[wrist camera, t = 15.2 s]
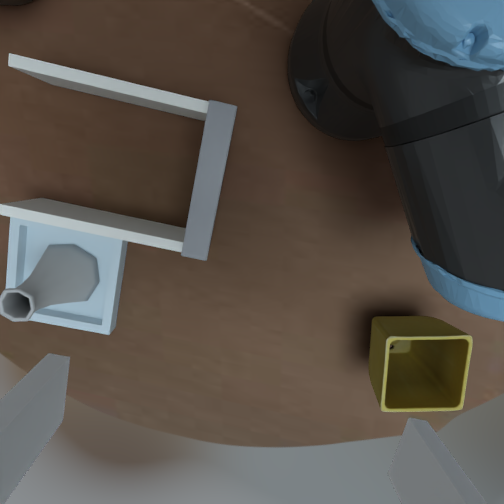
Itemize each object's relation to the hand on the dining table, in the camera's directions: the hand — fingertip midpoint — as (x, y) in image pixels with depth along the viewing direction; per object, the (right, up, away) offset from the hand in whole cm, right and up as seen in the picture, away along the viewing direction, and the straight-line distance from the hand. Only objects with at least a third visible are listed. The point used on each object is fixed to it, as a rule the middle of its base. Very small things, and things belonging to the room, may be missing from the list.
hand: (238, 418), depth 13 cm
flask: (-21, +4, +28) cm, 35 cm away
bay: (-13, +16, +25) cm, 33 cm away
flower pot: (+18, -4, +31) cm, 36 cm away
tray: (-21, +4, +28) cm, 35 cm away
